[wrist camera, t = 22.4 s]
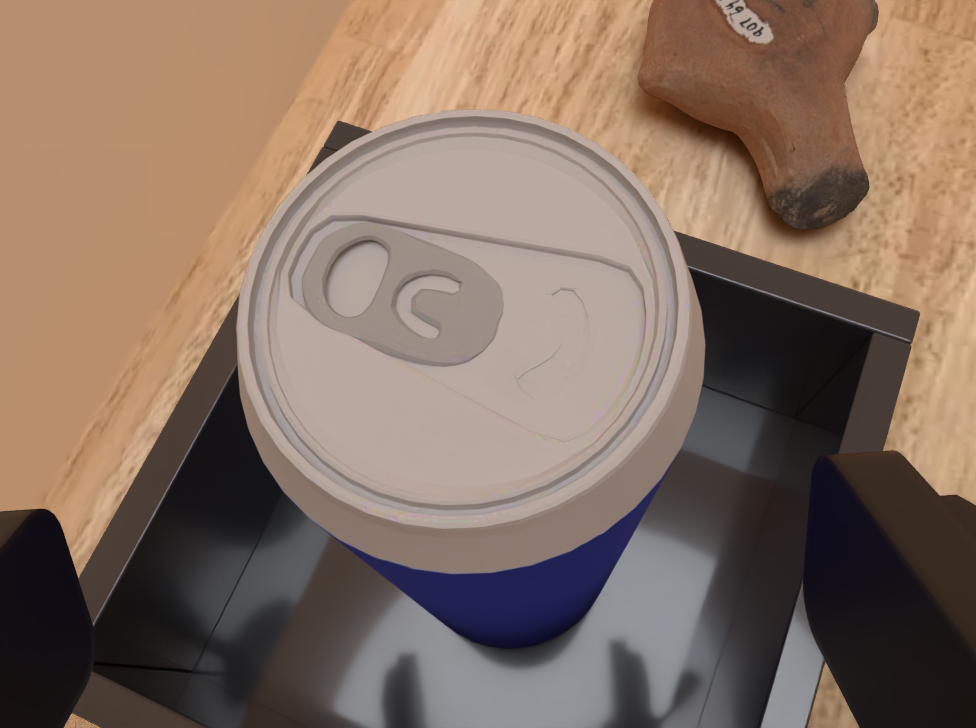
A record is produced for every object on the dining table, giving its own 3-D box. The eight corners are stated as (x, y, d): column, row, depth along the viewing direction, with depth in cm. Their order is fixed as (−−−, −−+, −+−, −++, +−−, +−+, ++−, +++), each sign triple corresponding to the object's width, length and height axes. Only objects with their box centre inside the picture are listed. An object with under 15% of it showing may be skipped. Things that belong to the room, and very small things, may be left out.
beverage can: (636, 488, 23) (783, 163, 9) (570, 682, 21) (627, 649, 7) (455, 423, 24) (336, 37, 10) (380, 604, 22) (111, 445, 8)
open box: (664, 934, 20) (722, 1041, 14) (162, 690, 23) (16, 686, 16) (822, 412, 24) (921, 310, 18) (384, 255, 27) (337, 118, 21)
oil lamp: (587, 187, 28) (832, 267, 27) (589, 125, 24) (875, 214, 23) (678, -40, 30) (914, 24, 29) (694, -132, 26) (966, -63, 25)
